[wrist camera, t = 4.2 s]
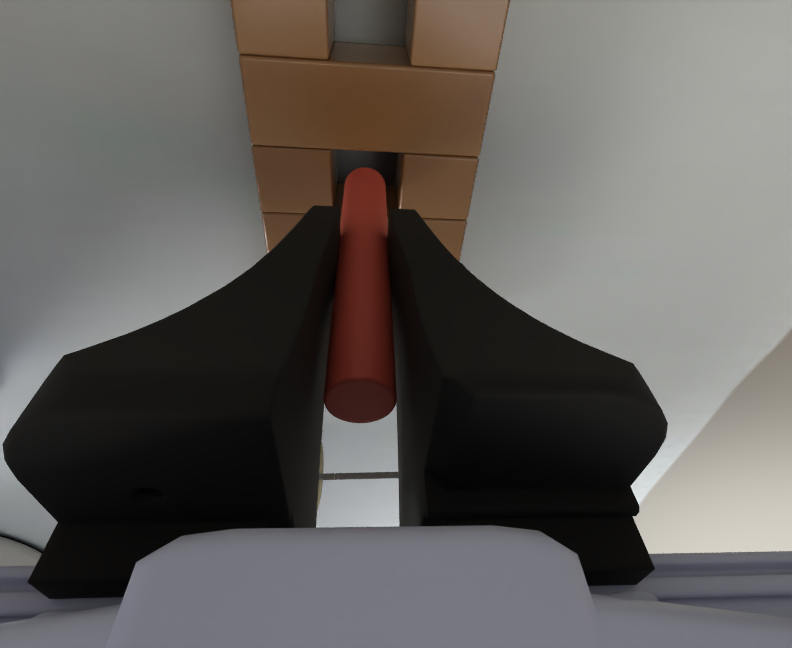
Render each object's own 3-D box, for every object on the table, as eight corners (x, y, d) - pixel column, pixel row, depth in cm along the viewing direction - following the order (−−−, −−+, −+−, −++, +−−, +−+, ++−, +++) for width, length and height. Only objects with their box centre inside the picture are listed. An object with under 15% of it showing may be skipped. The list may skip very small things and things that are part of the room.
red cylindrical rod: (373, 211, 14) (375, 432, 8) (338, 194, 13) (311, 413, 7) (392, 178, 13) (410, 391, 7) (355, 159, 13) (341, 369, 7)
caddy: (434, 321, 20) (440, 360, 18) (289, 318, 20) (281, 358, 18) (514, -158, 10) (544, -174, 9) (229, -189, 10) (198, -212, 8)
